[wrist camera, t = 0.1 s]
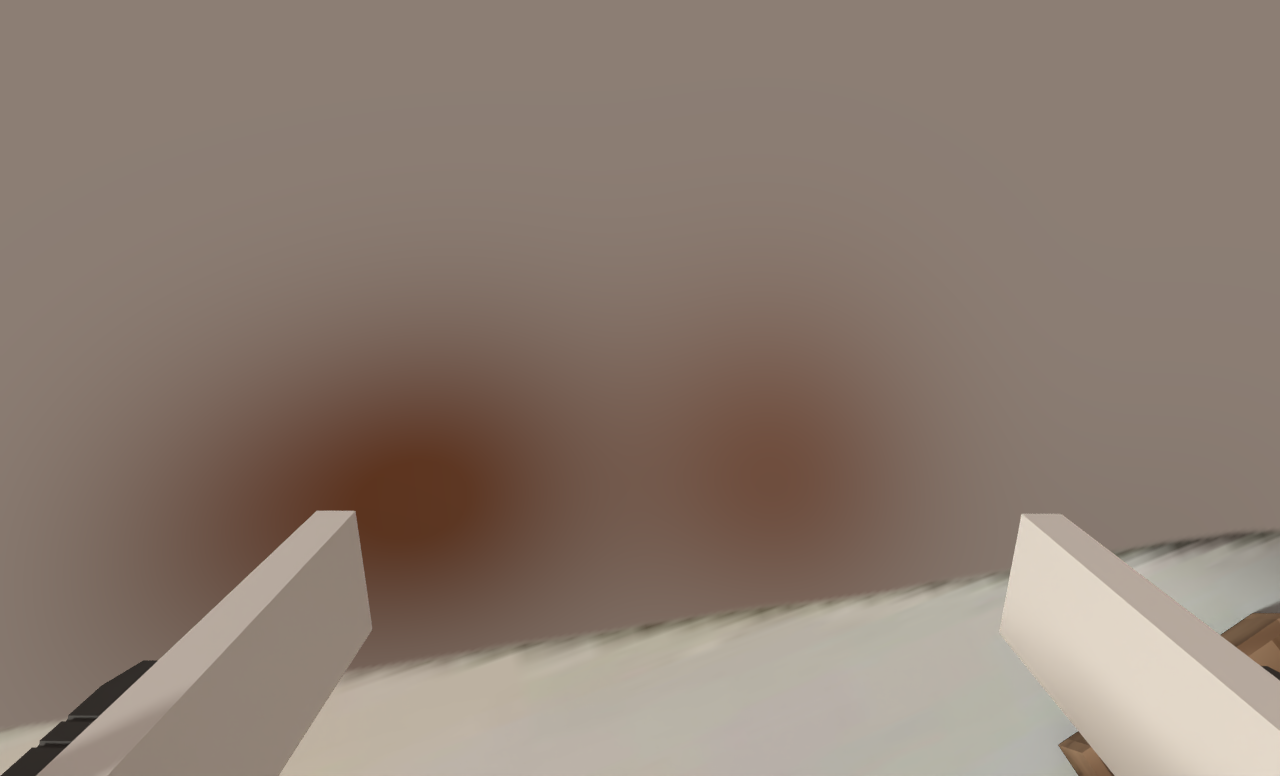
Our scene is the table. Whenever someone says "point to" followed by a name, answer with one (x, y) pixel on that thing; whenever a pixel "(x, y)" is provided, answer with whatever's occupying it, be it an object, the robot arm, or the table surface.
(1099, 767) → the walnut tray
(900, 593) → the table surface
